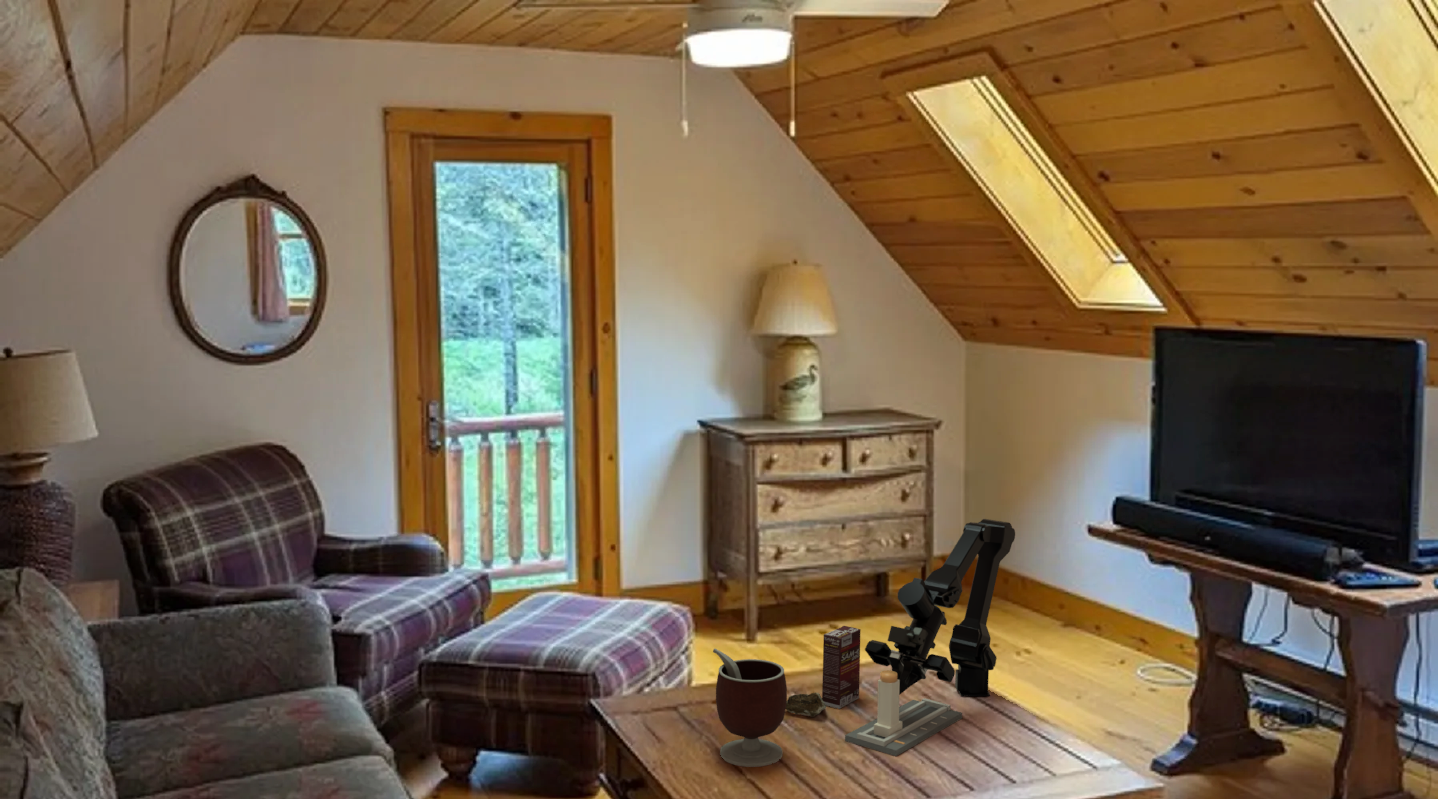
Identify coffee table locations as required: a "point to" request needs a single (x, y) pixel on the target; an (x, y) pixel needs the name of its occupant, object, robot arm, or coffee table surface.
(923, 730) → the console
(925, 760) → the coffee table surface
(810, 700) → the rock sample
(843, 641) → the supplement box
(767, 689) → the mate gourd
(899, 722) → the fader knob
